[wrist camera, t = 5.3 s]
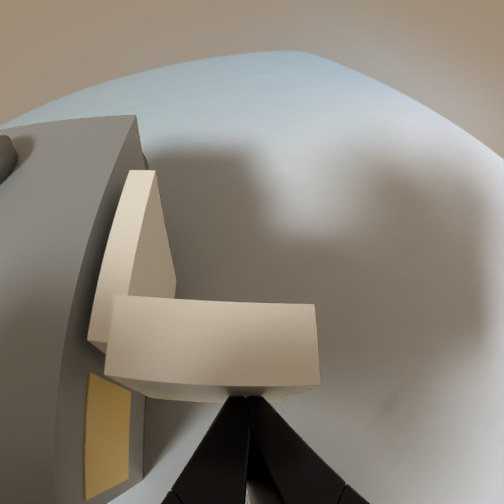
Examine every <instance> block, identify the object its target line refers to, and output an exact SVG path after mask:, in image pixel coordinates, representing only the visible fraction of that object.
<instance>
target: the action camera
mask: <svg viewBox="0 0 504 504" xmlns="http://www.w3.org/2000/svg"><path fill="white" fill-rule="evenodd" d="M129 170H149V168H148V163H147V160H146V158H145V156H144V154H143V152H142V148H141V142H140V136H139V130H138V124H137V117H136V115H123V116H105V117H92V118H80V119H70V120H61V121H53V122H45V123H38V124H32V125H25V126H19V127H13V128H8V129H3V130H0V504H107V503H108V502H110V501H111V500H113V499H115V498H116V497H118V496H119V495H121V494H122V493H124V492H125V491H127V490H128V489H130V488H131V487H133V486H134V485H136V484H137V483H139V482H140V481H142V480H143V436H144V410H145V395H144V394H142V393H139V392H137V391H135V390H133V389H131V388H129V387H127V386H125V385H123V384H121V383H119V382H117V381H115V380H113V379H111V378H110V377H108V376H106V375H104V369H105V360H106V354H105V353H103V352H102V351H101V350H99V349H98V348H97V347H95V346H94V345H93V344H91V343H90V342H89V341H88V340H87V336H88V330H89V324H90V319H91V313H92V308H93V303H94V298H95V293H96V288H97V284H98V279H99V275H100V270H101V266H102V262H103V258H104V254H105V250H106V246H107V242H108V238H109V235H110V231H111V228H112V224H113V221H114V217H115V214H116V210H117V207H118V204H119V201H120V197H121V194H122V191H123V188H124V185H125V182H126V179H127V176H128V173H129Z"/></svg>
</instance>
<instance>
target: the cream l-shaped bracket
mask: <svg viewBox="0 0 504 504" xmlns="http://www.w3.org/2000/svg"><path fill="white" fill-rule="evenodd" d="M176 281H177V279H176V275H175V270H174V266H173V261H172V257H171V252H170V247H169V242H168V237H167V232H166V227H165V222H164V217H163V211H162V206H161V200H160V194H159V189H158V183H157V177H156V170H129V173H128V176H127V179H126V182H125V185H124V188H123V191H122V194H121V197H120V201H119V204H118V207H117V210H116V214H115V217H114V221H113V224H112V228H111V231H110V235H109V238H108V242H107V246H106V250H105V254H104V258H103V262H102V266H101V270H100V275H99V279H98V284H97V288H96V293H95V298H94V303H93V308H92V313H91V319H90V324H89V330H88V336H87V340H88V341H89V342H90V343H91V344H93V345H94V346H95V347H97V348H98V349H99V350H101V351H102V352H103V353H105V354H106V360H105V369H104V375H106V376H108V377H110V378H111V379H113V380H115V381H117V382H119V383H121V384H123V385H125V386H127V387H129V388H131V389H133V390H135V391H137V392H139V393H142V394H144V395H146V396H148V397H150V398H156V399H166V400H177V401H191V402H208V403H225V401H226V400H227V398H228V397H229V396H244V397H247V396H262V397H264V398H265V399H266V400H267V402H268V403H278V402H281V401H283V400H286V399H288V398H290V397H293V396H295V395H298V394H300V393H302V392H305V391H307V390H309V389H312V388H314V387H316V386H318V385H321V381H320V366H319V351H318V338H317V326H316V315H315V304H283V303H249V302H225V301H204V300H186V299H175V290H176Z"/></svg>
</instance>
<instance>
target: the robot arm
mask: <svg viewBox="0 0 504 504" xmlns="http://www.w3.org/2000/svg"><path fill="white" fill-rule="evenodd" d="M345 484H346V482H345V481H344V480H343V479H342V478H341V477H340V476H339V475H338V474H337V473H336V472H335V471H334V470H333V469H331V468H330V467H329V466H328V465H327V464H326V463H325V462H324V461H323V460H322V459H321V458H320V457H319V456H318V455H317V454H316V453H315V452H314V451H313V450H312V449H311V448H310V447H309V445H308V444H307V443H306V442H305V441H304V440H303V439H302V438H301V437H300V436H299V435H298V434H297V433H296V432H295V431H294V430H293V429H292V428H291V427H290V426H289V425H288V423H287V422H286V421H285V420H284V419H283V418H282V417H281V416H280V415H279V414H278V413H277V412H276V410H275V409H274V408H273V407H272V406H271V405H270V404H269V403H268V402H267V400H266V399H265V398H264V397H262V396H247V397H244V396H229V397H228V398H227V400H226V401H225V403H224V405H223V406H222V408H221V410H220V411H219V413H218V415H217V416H216V418H215V420H214V421H213V423H212V425H211V426H210V428H209V430H208V431H207V433H206V434H205V436H204V438H203V439H202V441H201V443H200V444H199V446H198V447H197V449H196V451H195V452H194V454H193V455H192V457H191V459H190V460H189V462H188V463H187V465H186V466H185V468H184V470H183V471H182V473H181V474H180V476H179V477H178V479H177V480H176V482H175V484H174V485H173V487H172V488H171V491H169V492H168V494H167V495H166V497H165V498H164V500H163V501H162V503H161V504H245V497H246V486H247V488H248V493H249V498H250V503H251V504H370V503H369V502H367V501H366V500H365V499H364V498H363V497H362V496H360V495H359V494H358V493H357V492H356V491H355V490H354V489H353V488H352V487H351V486H349V485H348V484H347V485H345Z"/></svg>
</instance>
